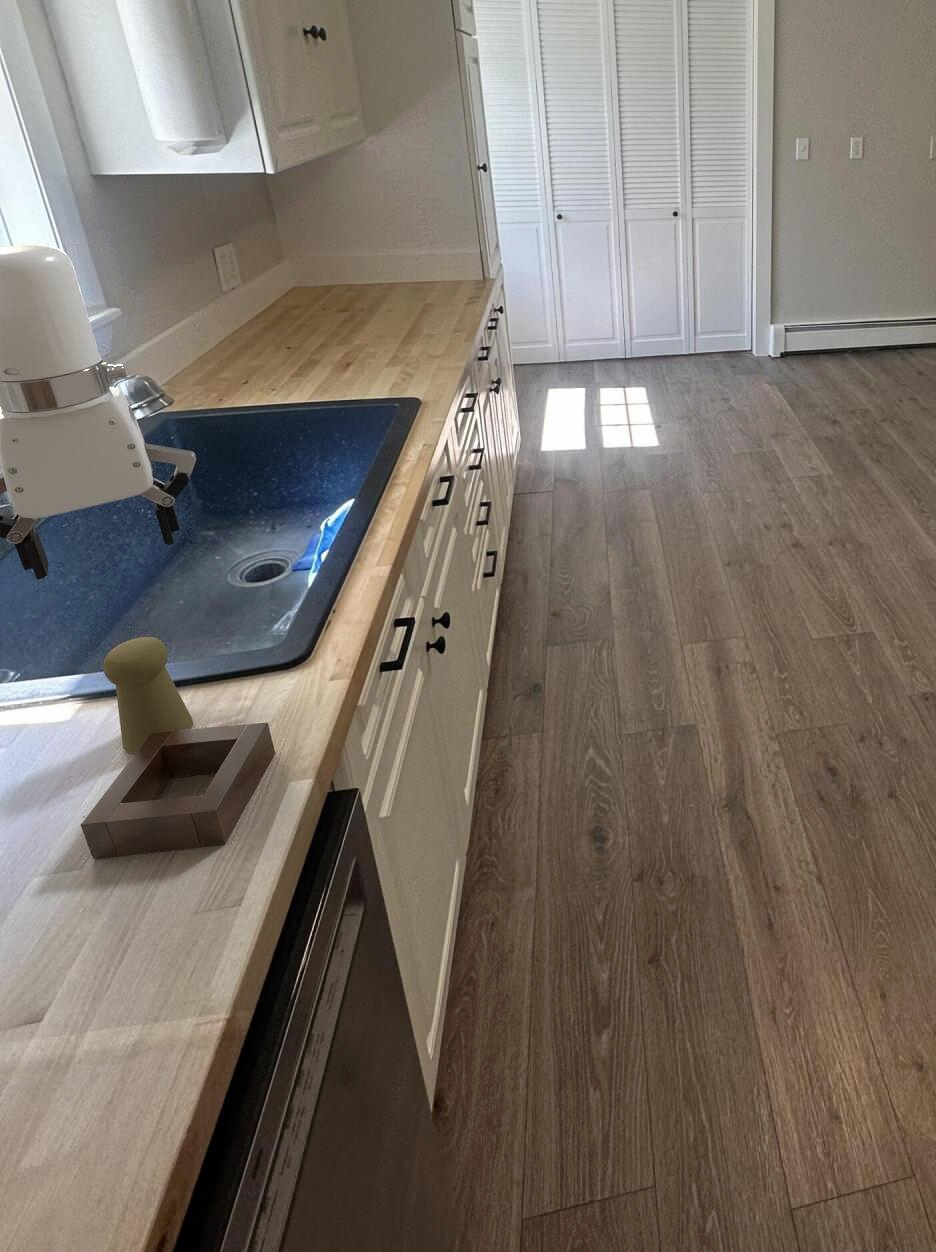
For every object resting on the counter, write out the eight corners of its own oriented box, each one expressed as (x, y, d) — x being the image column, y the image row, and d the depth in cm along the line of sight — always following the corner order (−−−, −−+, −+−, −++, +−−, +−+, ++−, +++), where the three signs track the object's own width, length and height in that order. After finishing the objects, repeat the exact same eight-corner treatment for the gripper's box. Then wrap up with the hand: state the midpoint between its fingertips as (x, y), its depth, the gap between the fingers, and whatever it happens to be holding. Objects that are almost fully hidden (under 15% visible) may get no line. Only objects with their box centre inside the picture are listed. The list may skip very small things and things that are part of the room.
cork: (159, 758, 80) (131, 669, 76) (107, 751, 81) (77, 662, 77) (206, 716, 86) (182, 631, 82) (157, 709, 86) (132, 625, 83)
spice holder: (92, 859, 69) (80, 825, 68) (161, 764, 79) (151, 732, 78) (225, 844, 71) (215, 810, 69) (275, 753, 81) (268, 721, 79)
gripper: (169, 359, 78) (210, 513, 83) (-75, 397, 68) (-9, 568, 73) (175, 379, 72) (218, 542, 78) (-91, 423, 62) (-18, 606, 68)
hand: (108, 555), depth 76 cm, fingers open, 9 cm apart
